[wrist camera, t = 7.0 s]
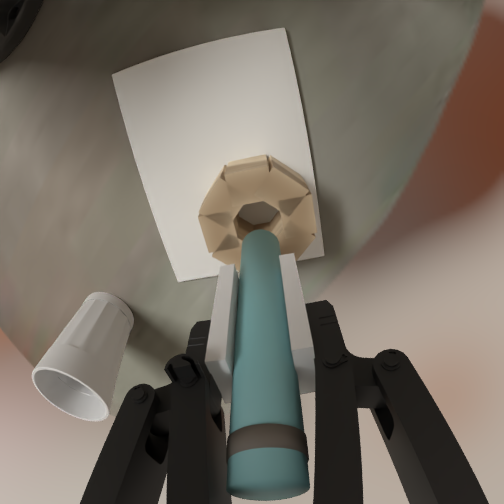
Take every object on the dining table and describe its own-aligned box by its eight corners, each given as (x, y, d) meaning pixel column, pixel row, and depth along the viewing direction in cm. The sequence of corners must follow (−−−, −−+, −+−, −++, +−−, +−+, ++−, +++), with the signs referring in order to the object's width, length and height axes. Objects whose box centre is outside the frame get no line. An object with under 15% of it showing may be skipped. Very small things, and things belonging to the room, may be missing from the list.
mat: (113, 74, 21) (111, 74, 20) (284, 28, 19) (284, 27, 19) (179, 279, 30) (178, 282, 30) (323, 253, 29) (324, 255, 29)
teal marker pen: (237, 232, 20) (213, 480, 7) (276, 225, 20) (308, 473, 6) (245, 266, 21) (236, 502, 8) (283, 259, 21) (313, 496, 8)
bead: (197, 169, 25) (187, 183, 21) (298, 148, 24) (306, 158, 20) (221, 256, 29) (217, 281, 25) (312, 239, 28) (320, 262, 24)
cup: (125, 281, 31) (79, 369, 20) (150, 338, 34) (123, 424, 24) (67, 289, 31) (17, 364, 21) (95, 340, 35) (61, 416, 25)
